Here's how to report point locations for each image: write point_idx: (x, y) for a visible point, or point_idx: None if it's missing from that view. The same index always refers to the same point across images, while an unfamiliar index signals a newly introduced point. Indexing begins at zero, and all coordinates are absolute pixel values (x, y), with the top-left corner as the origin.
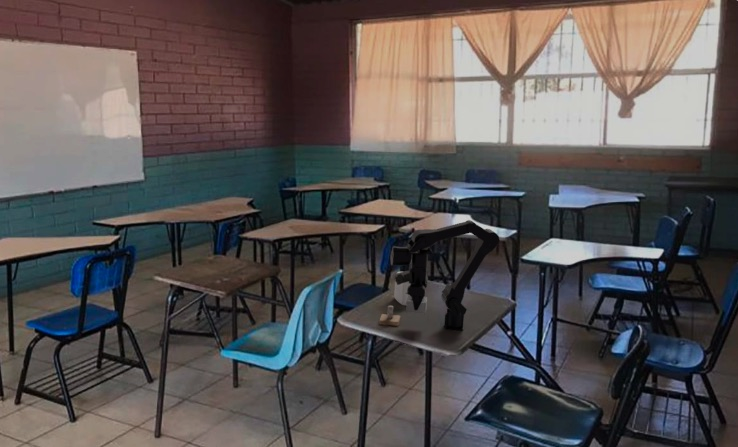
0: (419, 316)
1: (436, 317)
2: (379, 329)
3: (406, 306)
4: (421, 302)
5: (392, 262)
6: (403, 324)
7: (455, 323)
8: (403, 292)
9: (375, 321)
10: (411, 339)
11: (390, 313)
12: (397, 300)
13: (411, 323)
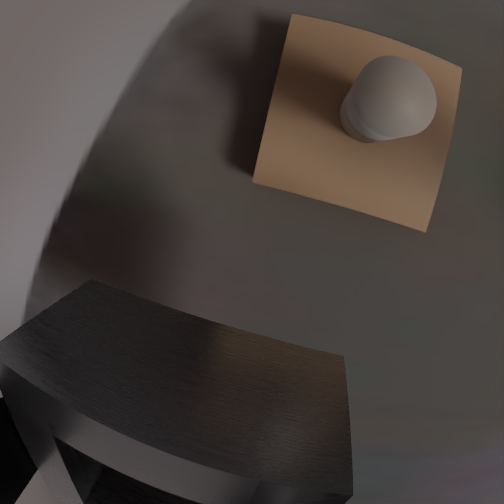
0: (444, 371)
1: (400, 446)
2: (177, 30)
3: (44, 313)
4: (46, 480)
5: None
6: (296, 231)
7: None
8: None
9: (358, 9)
10: (45, 241)
11: (345, 104)
12: None
13: (318, 300)
